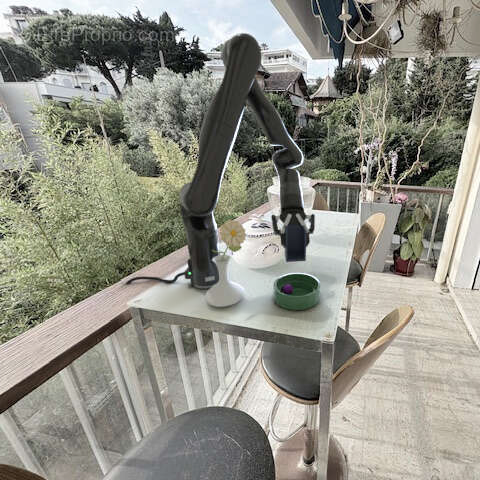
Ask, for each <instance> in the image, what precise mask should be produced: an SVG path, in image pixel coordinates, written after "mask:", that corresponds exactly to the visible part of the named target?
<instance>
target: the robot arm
mask: <svg viewBox="0 0 480 480" xmlns="http://www.w3.org/2000/svg"><path fill="white" fill-rule="evenodd" d="M220 58H221V62H222V64H223V66H224V68H225V70H224V73H223V76H222V77H223V78H222V81H221V83H220V85H219V87H218V88H217V91H216V93H215V95H214V96H213V97H212V99H211V101H210V103H209V105H208V107H207V110H206V112H205V114H204V118H203V120H202V124H201V128H200V132H199V137H198V147H197V148H198V149H197V151H198V152H197V155H198V156H197V163H196V167H195V171H194V174H193V177H192V179H191V181H190V182H187V183H185V184H183V185H182V186H181V188H180V190H179V191H178V203H179V204H178V205H179V209H180V210H179V211H180V215H181V220H182V221H181V222H182V225H183V230H184V232H185V239H186V244H187V250H188V259H187V268H186V269H185V270H184V271H183V272H180V273H178V274H176V275H175V276H174V278H173V279H170V280H169V279H163V278H161V277H158V276H135V277H132V278H130V279H128V280H127V281H126V282H125V285H130V284H131V283H133V282H135V281H140V280H151V281H158V282H160V283H167V284H173V283H175V282H177V280H178V278H180V277H183V276H184V279H185V280H190V286H191V287H195V288H196V289H201V290H209V289H210V288H211V287H213V286H214V285H215V284H217V283H218V282H219V271H218V268H217V265H216V264H215V263H214V262H213V261H212V259H213V258H214V257H216V256H219V255H221V253H218V252H213V251H212V250H214V251H220V252H221V250H220V240H219V231H218V225H217V223H216V221H215V217H214V210H215V209H216V206H217V205H218V200H219V195H220V190H221V186H222V179H223V176H224V172H225V170H226V167H227V164H228V161H229V158H230V155H231V153H232V149H233V147H234V144H235V141H236V138H237V134H238V130H239V128H240V123H241V121H242V117H243V114H244V110H245V107H246V102H247V104H248V105H249V107H250V108H251V110H252V113H253V114H254V116H255V118H256V119H257V122H258V124H259V126H260V128H261V130H262V132H263V134H264V136H265V138H266V140H267V142H268V144H269V145H270V146H282V147H284V148H283V149H279V150H276V151H275V152H274V153H273V154H272V158H271V160H272V164H273V166H274V168H275V171H276V172H277V176H278V184H279V198H278V199H279V208H280V214H279V215H275V214H272V215H271V216H270V217H271V218H270V220H271V221H270V222H271V225H272V230H273V235H274V236H279V237H280V245H281V247H282V248H284V249H285V248H286V239H285V226H288V225H299V224H301V228H303V225H304V226H305V228H306V230H307V234H306V248H308V246H309V245H310V242H311V240H310V235H313V234H314V232H315V229H316V228H315V227H316V226H315V225H316V221H315V220H316V215H315V214H314V213H311V214H307V213H306V212H305V206H304V196H303V190H302V185H301V177H300V172H299V171H298V170H297V169H295V168H297V167H300V166H301V165H302V164H303V162H304V155H303V152H302V151H301V149H300V148H299V147H298V145H297V144H296V143H295V142H294V140H293V139H292V137H291V136H290V134H289V133H288V131H287V128H286V127H285V124H284V122H283V120H282V117H281V115H280V114H279V112H278V110H277V108H276V107H275V106H274V104H273V103H272V102H271V100H270V99H269V97H267V95H266V94H265V92H264V90H263V89H262V87H261V85H260V84H259V80H258V78H257V75H258V72H259V69H260V67H261V65H262V50H261V46H260V44H259V42H258V40H257V39H256V38H255V37H254V36H253V35H251V34H249V33H246V32H241V33H237V34H234V35H233V36H232V37H230V38H229V39H227V40H226V41H225V42H224V43H223V45H222V47H221V50H220ZM306 220H307V222H308V223H309V228H308V227H307V225H306V222H305V221H306ZM279 221H281V222H282V223H283V225H282V227H281V229H279V227H278V223H279Z"/></svg>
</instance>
